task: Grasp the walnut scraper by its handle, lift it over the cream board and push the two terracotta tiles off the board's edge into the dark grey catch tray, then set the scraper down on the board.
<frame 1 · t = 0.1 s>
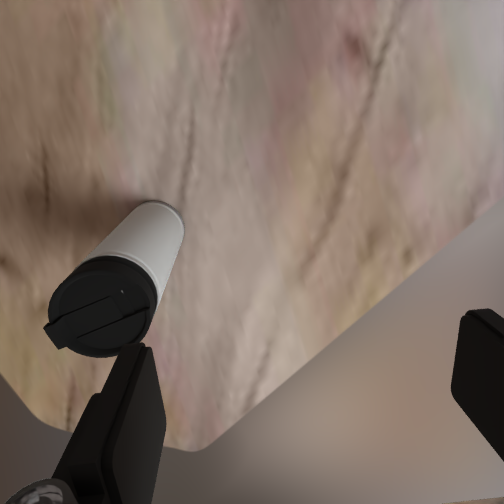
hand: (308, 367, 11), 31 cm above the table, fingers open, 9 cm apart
travel mug: (155, 227, 41), on the table
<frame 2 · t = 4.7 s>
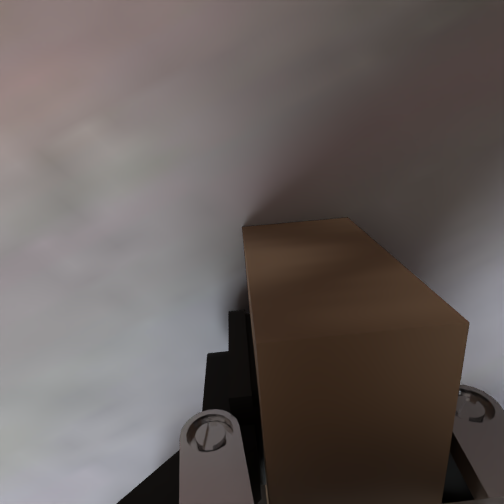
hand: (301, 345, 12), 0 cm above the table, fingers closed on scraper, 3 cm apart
scraper: (299, 359, 13), on the table, touching gripper
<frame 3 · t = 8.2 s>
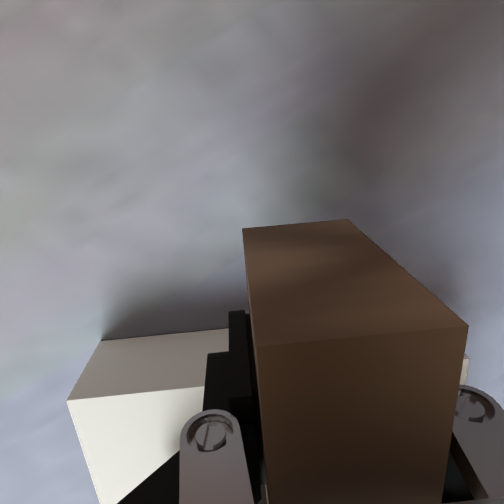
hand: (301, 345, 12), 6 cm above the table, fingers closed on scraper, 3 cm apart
board: (270, 431, 21), on the table
scraper: (299, 360, 13), point 5 cm above the table, touching gripper
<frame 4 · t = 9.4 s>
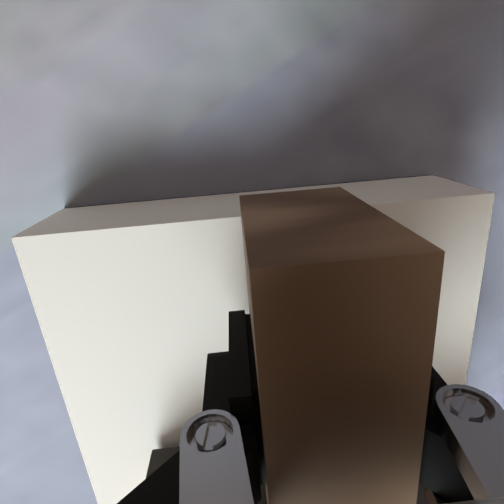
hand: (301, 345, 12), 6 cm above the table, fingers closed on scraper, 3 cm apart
board: (262, 330, 18), on the table
scraper: (295, 328, 13), point 4 cm above the table, touching gripper, tile a, tile b
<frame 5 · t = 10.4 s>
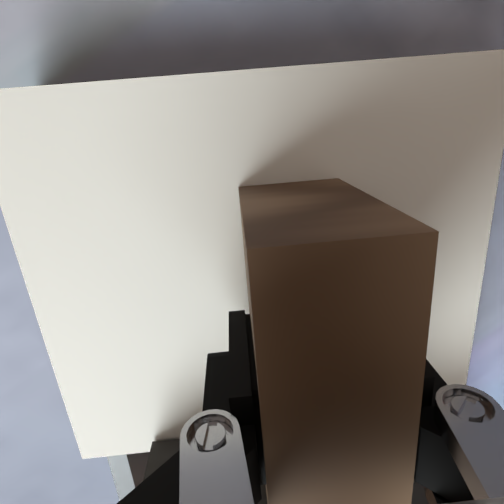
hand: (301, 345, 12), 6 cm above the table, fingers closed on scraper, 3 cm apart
catch tray: (280, 449, 21), on the table
board: (255, 250, 17), on the table
scraper: (294, 319, 13), point 4 cm above the table, touching gripper
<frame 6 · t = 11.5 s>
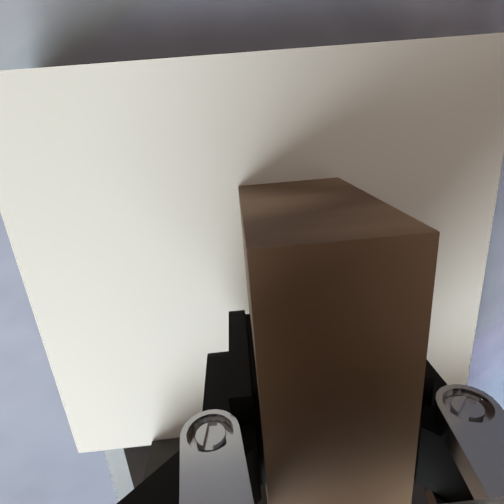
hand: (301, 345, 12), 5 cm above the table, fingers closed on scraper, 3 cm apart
catch tray: (279, 444, 21), on the table
board: (254, 241, 16), on the table
scraper: (294, 319, 13), point 4 cm above the table, touching board, gripper
when the fingers open (6 cm above the table, at t = 12.2 s): scraper stays where it is, resting on board.
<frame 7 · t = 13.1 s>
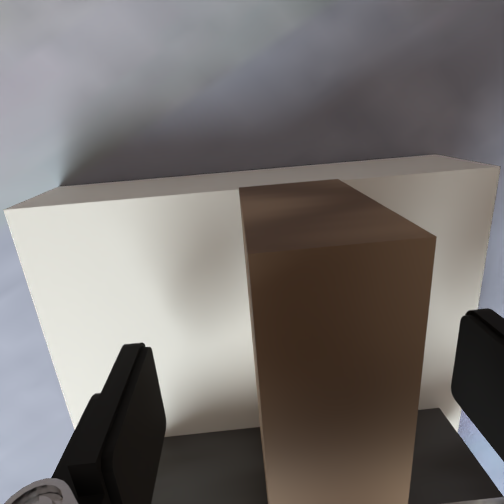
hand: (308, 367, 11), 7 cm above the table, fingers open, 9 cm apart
board: (261, 314, 18), on the table
scraper: (293, 318, 14), point 4 cm above the table, touching board
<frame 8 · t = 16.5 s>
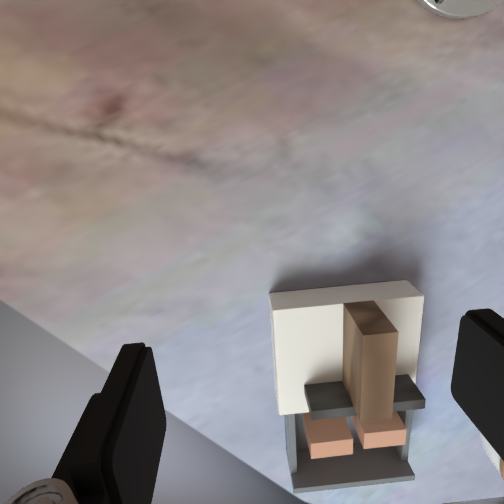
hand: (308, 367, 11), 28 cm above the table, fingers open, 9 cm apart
lidded bowl: (503, 401, 50), on the table
catch tray: (340, 416, 49), on the table
tile b: (326, 424, 45), point 3 cm above the table, tilted 90°, touching catch tray
board: (337, 338, 44), on the table
tile a: (377, 415, 45), point 3 cm above the table, tilted 90°, touching catch tray
scraper: (357, 342, 40), point 4 cm above the table, touching board
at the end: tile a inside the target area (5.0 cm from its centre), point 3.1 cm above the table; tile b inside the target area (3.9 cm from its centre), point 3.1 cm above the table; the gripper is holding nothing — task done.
